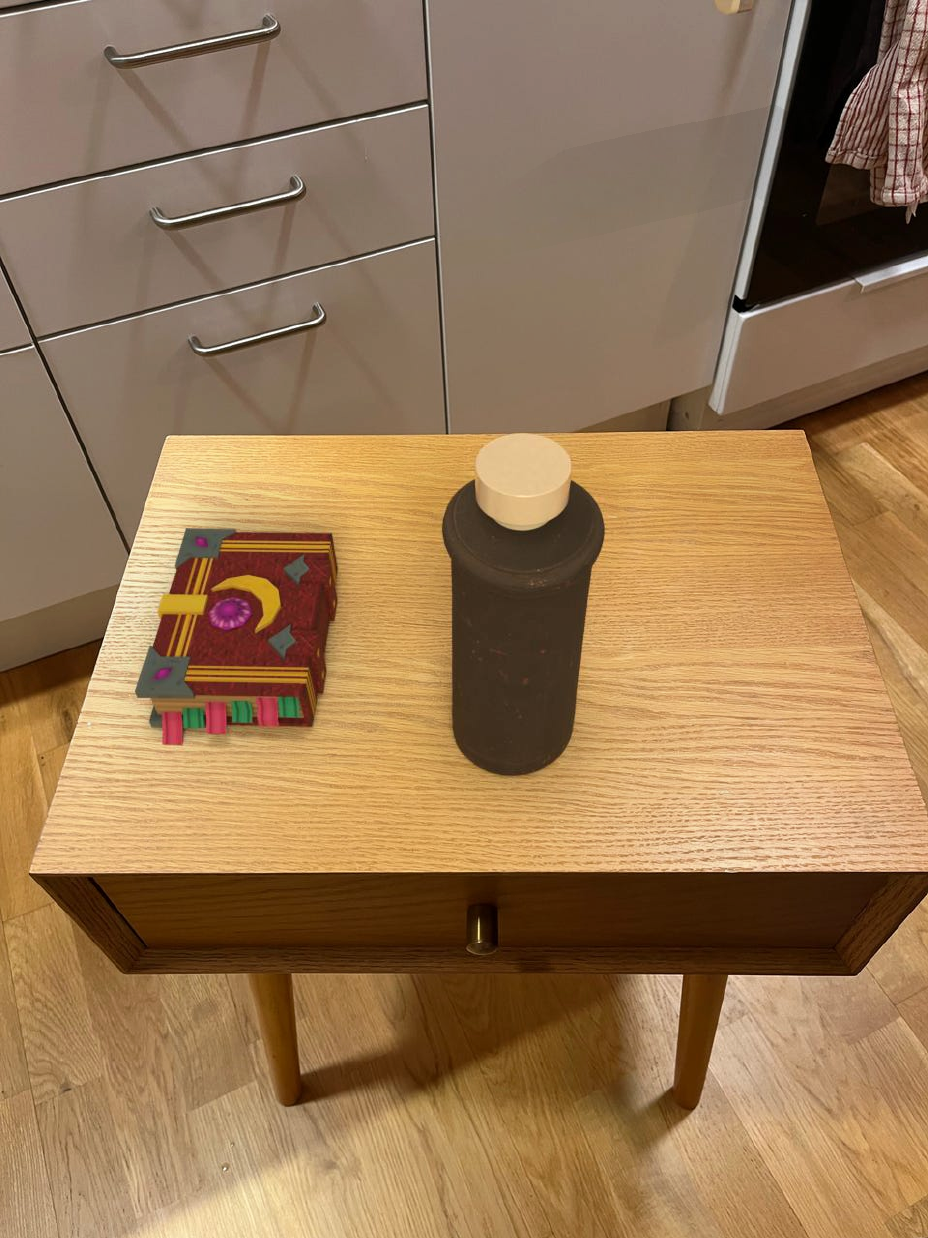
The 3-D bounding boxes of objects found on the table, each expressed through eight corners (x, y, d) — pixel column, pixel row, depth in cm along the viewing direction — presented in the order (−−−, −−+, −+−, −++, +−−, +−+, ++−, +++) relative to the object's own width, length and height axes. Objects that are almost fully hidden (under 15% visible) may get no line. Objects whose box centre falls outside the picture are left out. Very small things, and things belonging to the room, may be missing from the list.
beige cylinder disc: (586, 502, 50) (591, 457, 48) (531, 554, 48) (533, 510, 45) (512, 464, 52) (514, 420, 50) (456, 513, 50) (455, 468, 47)
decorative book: (342, 571, 75) (334, 524, 71) (315, 747, 64) (304, 704, 60) (197, 569, 75) (182, 522, 71) (147, 744, 65) (126, 701, 61)
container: (596, 697, 66) (630, 478, 51) (548, 802, 61) (570, 593, 46) (482, 656, 69) (482, 436, 54) (427, 754, 64) (409, 540, 48)
